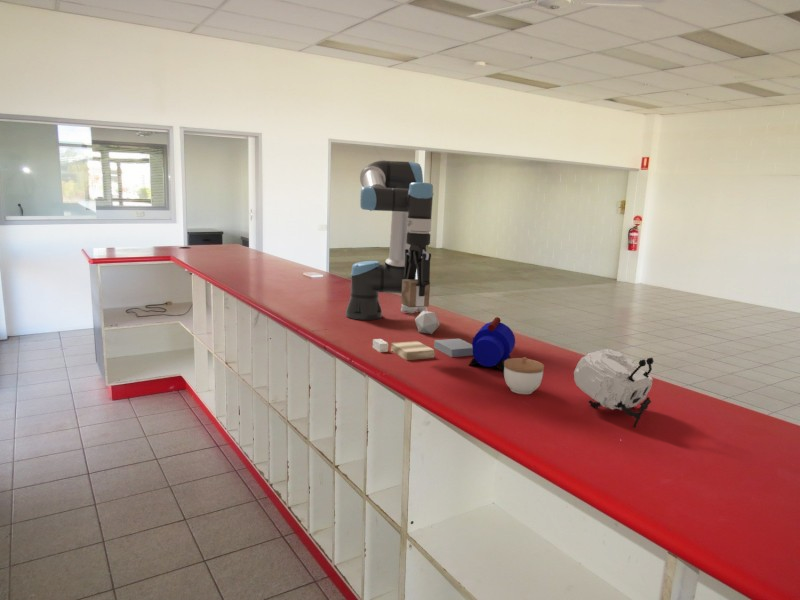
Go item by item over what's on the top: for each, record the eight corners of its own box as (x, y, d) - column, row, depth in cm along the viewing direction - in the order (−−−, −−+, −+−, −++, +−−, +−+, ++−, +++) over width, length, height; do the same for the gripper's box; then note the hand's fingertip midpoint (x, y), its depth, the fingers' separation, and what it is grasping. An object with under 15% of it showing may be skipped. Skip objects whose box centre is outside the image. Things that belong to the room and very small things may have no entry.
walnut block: (401, 303, 183) (402, 279, 182) (420, 303, 186) (421, 279, 185) (409, 307, 178) (410, 282, 177) (428, 306, 181) (430, 281, 180)
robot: (621, 442, 133) (652, 380, 125) (557, 393, 147) (582, 334, 139) (659, 427, 143) (690, 368, 136) (596, 382, 157) (621, 327, 149)
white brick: (372, 348, 191) (372, 339, 190) (380, 347, 192) (380, 338, 192) (379, 352, 186) (380, 343, 185) (387, 352, 187) (388, 343, 186)
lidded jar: (494, 385, 158) (497, 353, 156) (526, 382, 162) (529, 351, 160) (516, 399, 148) (519, 364, 146) (549, 395, 152) (553, 361, 150)
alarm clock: (514, 364, 179) (518, 318, 177) (504, 374, 168) (508, 325, 166) (477, 358, 184) (481, 313, 182) (465, 367, 173) (469, 320, 171)
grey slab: (433, 348, 195) (434, 340, 194) (458, 346, 199) (459, 338, 198) (451, 358, 184) (452, 349, 184) (477, 356, 188) (477, 347, 188)
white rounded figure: (424, 290, 253) (402, 291, 246) (435, 307, 247) (413, 308, 240) (417, 305, 258) (395, 306, 251) (427, 321, 252) (406, 322, 245)
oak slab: (390, 351, 189) (390, 342, 188) (416, 349, 193) (417, 340, 192) (406, 361, 178) (407, 352, 177) (434, 359, 182) (434, 350, 182)
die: (442, 333, 218) (433, 310, 221) (442, 327, 209) (433, 303, 213) (421, 340, 217) (412, 317, 221) (420, 334, 209) (411, 310, 212)
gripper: (395, 229, 185) (391, 299, 189) (422, 234, 168) (418, 310, 172) (415, 230, 188) (411, 298, 192) (444, 234, 171) (439, 309, 175)
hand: (414, 303), depth 182 cm, fingers closed on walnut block, 6 cm apart
